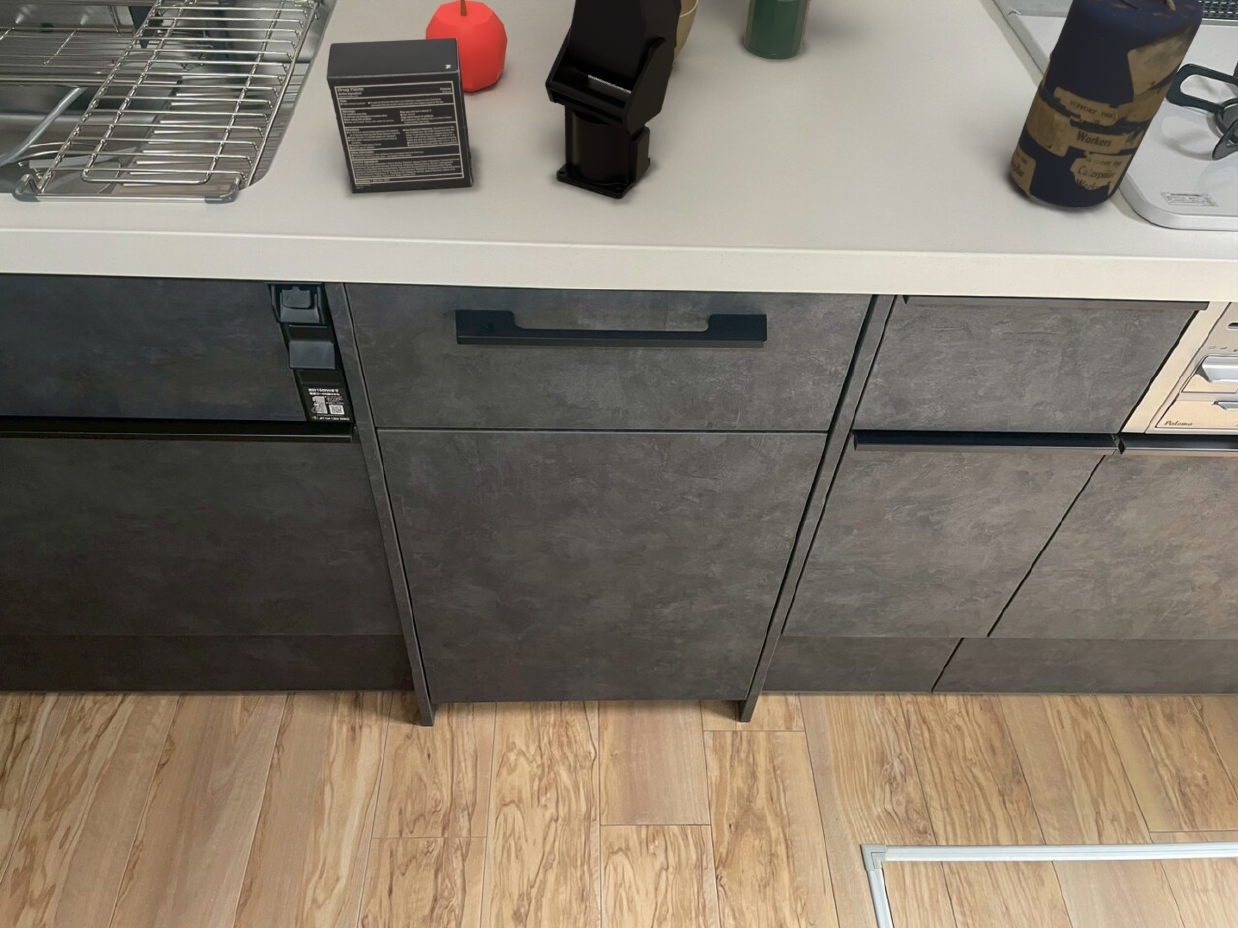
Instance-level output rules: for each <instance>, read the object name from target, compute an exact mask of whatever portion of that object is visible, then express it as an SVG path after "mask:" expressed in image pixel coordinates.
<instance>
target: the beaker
mask: <svg viewBox="0 0 1238 928" xmlns="http://www.w3.org/2000/svg"><path fill="white" fill-rule="evenodd" d="M811 1H812V0H748V4H747V12H746V19H745V27H744V33H743V34H744V35H743V37H744V38H743V45H744V48H745V49H746V50H747V52H750V53H751V54H753V55H755V56H758V57H761V58H765V59H771V60H784V59H789V58H792V57H795V56H797V55H798V54H799V53H800V52H801V50H802V48H803V44H804V39H805V35H806V29H807V24H808V17H809V13H810V6H811Z"/></svg>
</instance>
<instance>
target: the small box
mask: <svg viewBox="0 0 1238 928" xmlns="http://www.w3.org/2000/svg"><path fill="white" fill-rule="evenodd" d="M326 67H327V69H326V75H325V76H326V77H325V78H326V81H327V82H326V83H327V85H328V86H327V87H328V89H329V91H330V96H331V97H330V98H331V100H332V105H333V109H334V110H333V111H334V114H335V119H336V124H337V129H338V133H339V138H340V142H341V146H342V150H343V155H344V160H345V166H346V169H347V174H348V178H349V187H350V193H353V194H354V193H355V194H358V193H373V192H388V191H389V192H390V191H403V190H405V191H407V190H422V189H438V188H439V189H440V188H456V187H457V188H459V187H461V188H462V187H471V186H472V185H473V184H474V177H473V173H472V171H473V168H472V160H471V159H472V154H471V148H470V139H469V129H468V128H469V127H468V120H467V111H466V101H465V93H464V92H465V91H464V90H463V83H462V74H461V66H460V58H459V48H458V40H457V38H443V39H425V38H424V39H423V38H422V39H421V38H419V39H401V40H399V39H398V40H376V41H356V42H354V41H353V42H332V43H331V44H330V46H329V51H328V59H327V66H326Z"/></svg>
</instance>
